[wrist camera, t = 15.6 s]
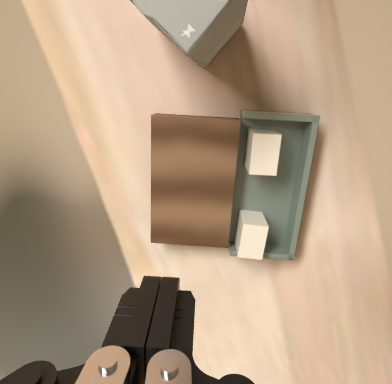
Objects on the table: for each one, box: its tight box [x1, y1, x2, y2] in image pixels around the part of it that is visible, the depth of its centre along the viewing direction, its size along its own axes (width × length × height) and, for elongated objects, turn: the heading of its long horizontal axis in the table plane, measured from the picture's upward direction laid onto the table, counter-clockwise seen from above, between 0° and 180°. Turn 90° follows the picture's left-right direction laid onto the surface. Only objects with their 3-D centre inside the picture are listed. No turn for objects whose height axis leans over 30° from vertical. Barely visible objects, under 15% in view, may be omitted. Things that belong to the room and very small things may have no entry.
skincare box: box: [130, 0, 248, 68], centre depth 25 cm, size 8×7×16 cm
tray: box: [228, 110, 320, 260], centre depth 36 cm, size 18×8×3 cm, turn 177°
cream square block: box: [235, 210, 269, 260], centre depth 37 cm, size 4×4×3 cm
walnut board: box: [151, 114, 241, 248], centre depth 37 cm, size 16×10×3 cm, turn 177°
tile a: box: [244, 128, 282, 176], centre depth 34 cm, size 4×4×3 cm
